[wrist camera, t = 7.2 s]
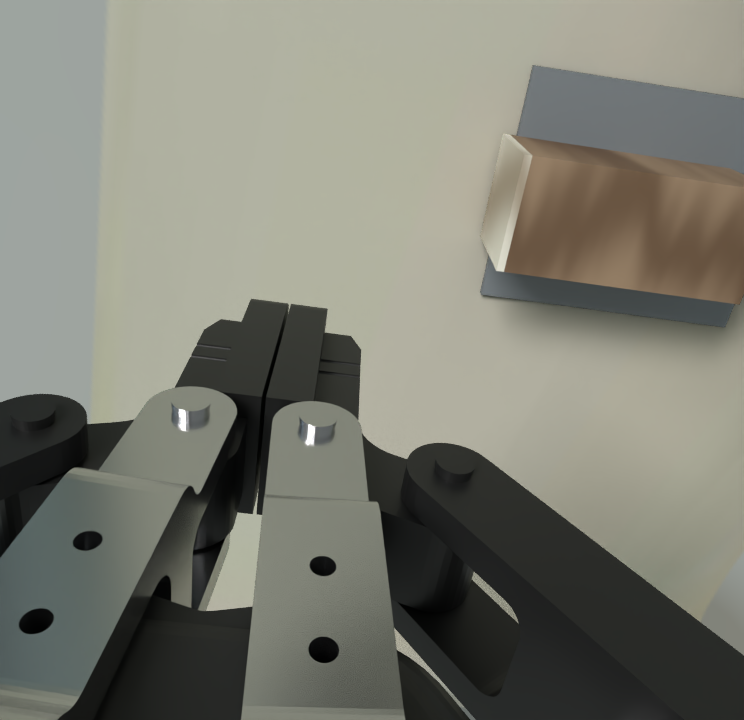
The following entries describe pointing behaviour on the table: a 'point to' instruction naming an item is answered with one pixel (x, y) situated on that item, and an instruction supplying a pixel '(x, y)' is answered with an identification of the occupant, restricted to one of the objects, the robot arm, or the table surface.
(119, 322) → the table surface
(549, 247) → the walnut block
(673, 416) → the table surface
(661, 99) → the rubber mat
